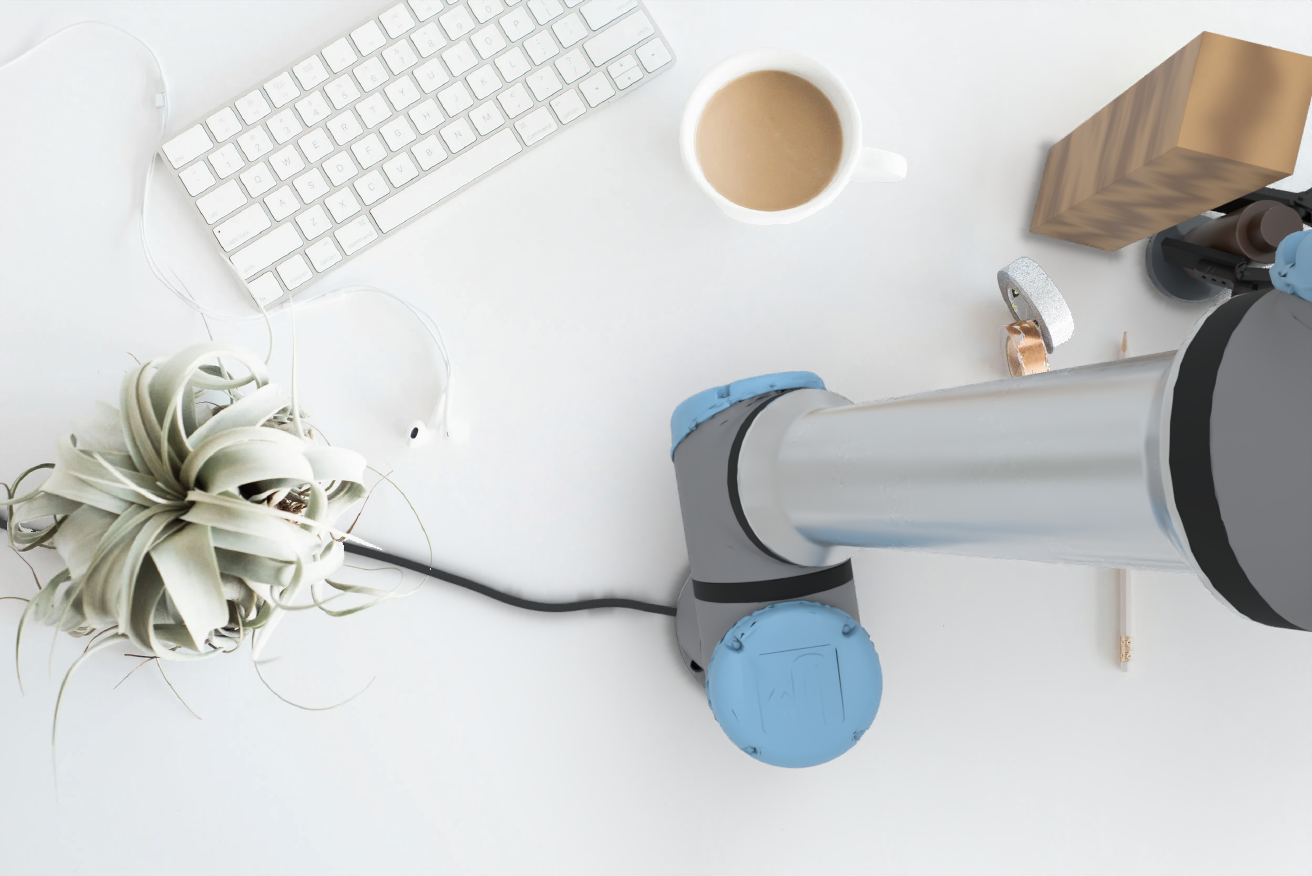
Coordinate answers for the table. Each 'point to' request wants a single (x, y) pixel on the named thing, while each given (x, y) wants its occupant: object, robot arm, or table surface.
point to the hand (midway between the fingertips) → (1186, 223)
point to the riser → (1177, 143)
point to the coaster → (1177, 267)
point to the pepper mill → (1248, 232)
